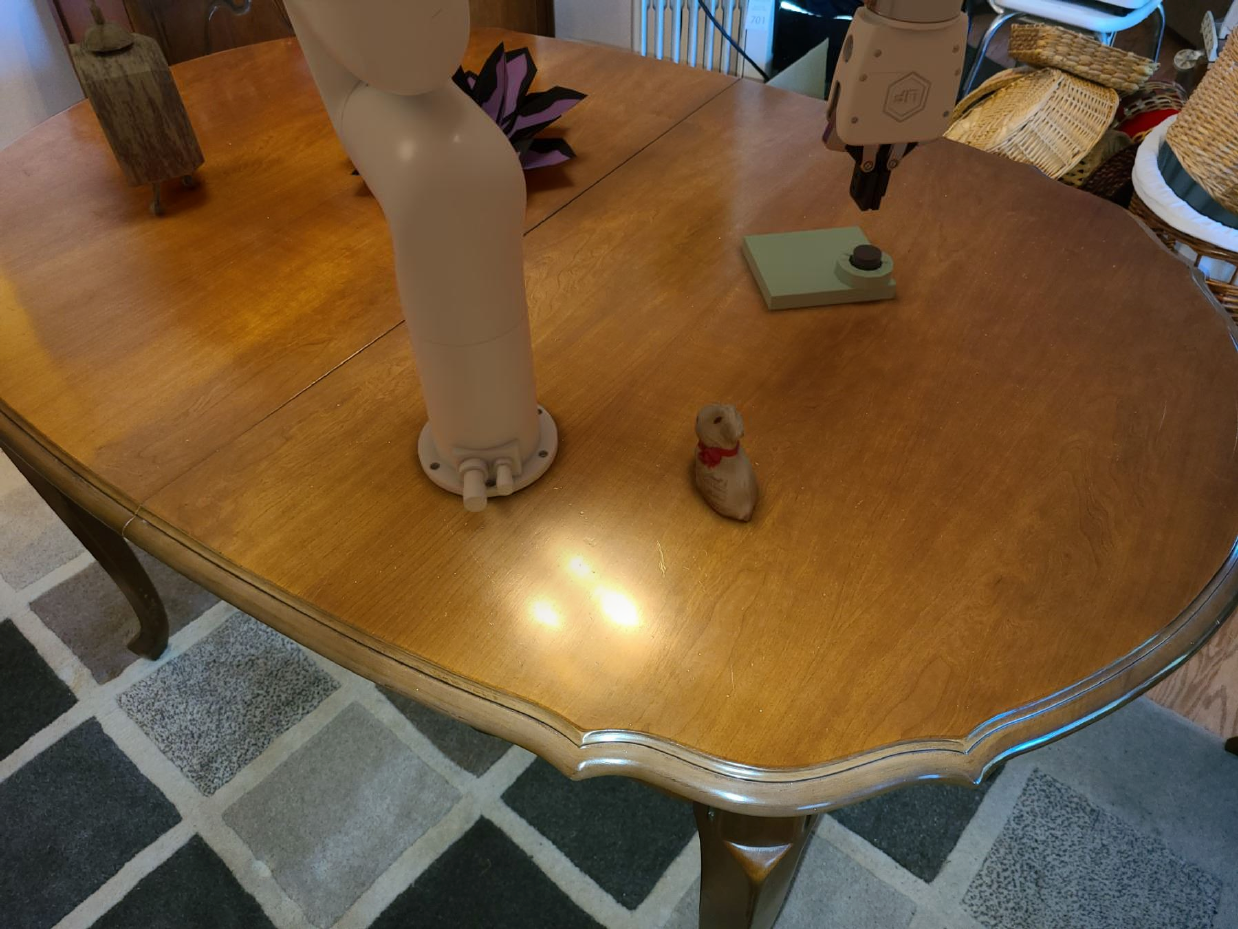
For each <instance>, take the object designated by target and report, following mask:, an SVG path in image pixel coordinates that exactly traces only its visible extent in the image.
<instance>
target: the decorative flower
mask: <svg viewBox="0 0 1238 929" xmlns="http://www.w3.org/2000/svg"><path fill="white" fill-rule="evenodd" d="M537 72H538V67H537V65H536V64H535V61H534V59H533V57H532V54H531V52H530V50H529V47H528V46H523V47H521V48H516V49H511V50H509V51H506V50H505V44H504V40H503V41H501V42H500V43H499V44H498V45H497V46H496V47H495V48H494V49H493V50H492V52H491V53H490V55H489V56H488V57H487V58H486V60H485V62H484V64H483V66H482V68H481V70H480V72H479V73H478V74H477V73H475V72H473V71H472V70H470V69H468V70H467V71H466V72H465V70H464V68H463V66H462V64H461V65H460V67H459V68H458V70H457V71H456V73H455V74H454V75H453V76H452V77H451V78H452V81H453V82H454V83H455V84H456V85H457V86H458V87H459V88H460V89H461V90H462V91H463V92H464V93H465V94H467V95H468V96H469V97H470V98H471V99H472V100H473V101H474V102H475V103H476V104H477V105H478V106H479V107H480V108H481V109H482V110H483V111H484V112H485V113H486V114H487V115H488V116H489V117H490V118H491V119H492V120H493V121H494V122H495V123H496V124H497V125H498V126H499V128H500V129H501V130H502V132H503V133H504V134H505V136H506V137H507V138H508V140H509V142H510V143H511V145H512V147H513V148H514V150H515V152H516V154H517V156H518V158H519V161H520V164H521V166H522V170H523V172H526V171H535V170H539V169H542V168H546V167H551V166H554V165H557V164H560V163H563V162H565V161H568V160H571V159H573V158H577V155H576V153H575V151H574V150H573V149H572V148H573V147H571V146H570V144H569V143H568V142H567V141H566V140H565V139H564V138H563V137H534V136H536V135H537V134H539V133H540V132H542V131H543V130H545V129H546V128H548V127H549V126H551V125H552V124H553V123H554V122H556V121H558V120H559V119H560V118H562V116H563V114H564V113H566V112H568V111H570V110H571V109H573V107H575V106H576V105H578V104H579V103H581V102H582V101H583V100H584V99H586V98H587V97H589V94H586V93H583V92H580V91H578V90H575V89H572V88H568V87H565V86H564V87H563V86H559V85H555V86H553V87H551V88H549V89H547V90H545V91H535V92H529V90H530V88H531V86H532V83H533V82H534V79H535V77H536V76H537ZM349 175H350V176H358V177H362V176H361V175H360V173H359V172H358V170H357V169H356V168H355V169H353V171H352V172H351V173H350V174H349Z"/></svg>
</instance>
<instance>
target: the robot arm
mask: <svg viewBox="0 0 1238 929" xmlns="http://www.w3.org/2000/svg"><path fill="white" fill-rule="evenodd" d="M860 1H861V2H863V4H864V5H863V6H859V7H857V8H856V10H855V13H854V14H853V18H852V20H851V22H850V24H849V27H848V28H847V32H846V35H845V38H844V40H843V42H842V46H841V50H840V52H839V56H838V59H837V62H836V65H835V70H834V73H833V78H832V82H831V86H830V90H829V95H828V99H827V105H826V111H825V118H826V119H825V120H826V121H827V125H826V127H825V130H824V132H823V134H822V136H821V143H822V144H823V146H825V148H826V149H827V150H829V151H834V152H839V153H848V154H849V156H850V157H851V158H852V159H853V160H854V167H853V171H852V176H851V180H850V185H849V190H848V192H849V196H850V197H851V199H852V201H854V203H855V205H856V206H857V207H858V209H859V210H860V211H861V212H868V211H869V210H871V211H879V210H880V207H881V206H880V205H881V203H882V200H883V198H884V197H885V196H886V194H887V190H888V185H889V182H890V179H891V175H892V171H895V170H896V169H897V168H898V167H899V166H900V163H901V161H902V159H904V158H905V157H906V156H908V154H910V153H911V152H912V151H914V149H915V148H916V147H917V148H920V147H922V146H926V145H929V144H932V143H934V142H936V141H937V140H938V139H939V137H941V136H944V134H945V133H946V132H947V130H948V129H949V125H950V123H951V122H952V117H953V114H954V110H955V106H956V102H957V99H958V94H959V89H960V85H961V81H962V80H961V79H962V75H963V70H964V65H965V58H966V50H967V41H968V31H969V16H968V14H967V13H965V12H963V11H962V7H963V5H964V4H963V3H964V0H860ZM282 3H283V5H284V8H285V11H286V13H287V17H288V18H289V21H290V24H291V26H292V29H293V32H294V34H295V37H296V38H297V41H298V44H299V46H300V49H301V52H302V54H303V56H304V59H305V61H306V63H307V66H308V69H309V71H310V74H311V77H312V79H313V82H314V84H315V86H316V89H317V92H318V94H319V96H320V99H321V101H322V104H323V106H324V108H325V111H326V113H327V116H328V118H329V120H330V123H331V125H332V128H333V130H334V132H335V134H336V137H337V139H338V141H339V143H340V145H341V147H342V149H343V150H344V152H345V154H346V156H347V157H348V159H349V160H350V161H351V163H352V165H353V166H354V168H355V169H357V170H358V172H359V173H360V175H361V176H360V177H361V178H362V179H363V181H364V182H365V184H366V186H367V187H368V189H369V190H370V192H371V193H372V195H373V196H374V198H375V199H376V201H377V203H378V204H379V206H380V208H381V210H382V212H383V216H384V218H385V220H386V223H387V226H388V230H389V234H390V237H391V243H392V249H393V250H392V251H393V263H394V266H393V267H394V274H395V280H396V287H397V292H398V297H399V302H400V306H401V310H402V314H403V319H404V322H405V325H406V328H407V332H408V337H409V341H410V342H409V343H410V345H411V350H412V354H413V359H414V363H415V367H416V371H417V376H418V380H419V385H420V389H421V392H422V397H423V401H424V405H425V410H426V414H427V419H428V420H427V421H426V422H425V423H424V426H423V427H422V430H420V434H419V437H418V441H417V453H418V458H419V463H420V465H421V467H422V470H423V472H424V473H425V474H426V476H427V477H428V479H430V481H432V482H433V483H434V484H436V485H437V486H438V487H440V488H441V489H443V490H445V491H447V492H449V493H453V494H456V495H459V496H462V498H463V499H462V501H463V502H462V503H463V508H464V509H465V510H466V511H467V512H471V513H478V512H482V511H484V510H485V509H486V508H487V506H488V498H493V497H499V496H506V497H507V496H509V495H511V494H512V493H514V492H517V491H520V490H522V489H524V488H526V487H528V486H529V485H531V484H532V483H534V482H536V481H537V480H539V478H541V477H542V476H543V475H544V474H545V473H546V472H547V471H548V469H549V468H550V467H551V465H552V464H553V463H554V461H555V457H556V455H557V452H558V448H559V446H558V445H559V436H558V429H557V426H556V422H555V420H554V419H553V417H552V416H551V414H550V412H548V411H547V410H546V409H545V408H544V407H543V406H542V405H541V404H538V396H537V387H536V386H537V385H536V376H535V366H534V357H533V356H534V355H533V346H532V337H531V336H532V335H531V326H530V317H529V305H528V300H527V290H526V280H525V279H526V278H525V266H524V264H525V263H524V233H525V223H526V212H527V196H528V195H527V184H526V177H525V173H524V171H523V170H522V166H521V164H520V161H519V158H518V156H517V154H516V152H515V150H514V148H513V147H512V145H511V143H510V142H509V140H508V138H507V137H506V136H505V134H504V133H503V132H502V130H501V129H500V128H499V126H498V125H497V124H496V123H495V122H494V121H493V120H492V119H491V118H490V117H489V116H488V115H487V114H486V113H485V112H484V111H483V110H482V109H481V108H480V107H479V106H478V105H477V104H476V103H475V102H474V101H473V100H472V99H471V98H470V97H469V96H468V95H467V94H465V93H464V92H463V91H462V90H461V89H460V88H459V87H458V86H457V85H456V84H455V83H454V82H453V81H452V78H451V77H452V76H453V75H454V74H455V73H456V71H457V70H458V68H459V67H460V65H461V66H462V63H463V61H464V58H465V56H466V53H467V49H468V47H469V46H468V45H469V41H470V34H471V13H470V5H469V4H470V2H469V0H282Z"/></svg>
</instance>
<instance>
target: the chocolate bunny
mask: <svg viewBox="0 0 1238 929" xmlns="http://www.w3.org/2000/svg"><path fill="white" fill-rule="evenodd" d="M744 427H745V425H744V422H743V417H742V414H740V412H739V411H737V408H736V406H735V405H734V404H733V403H725V404H721V403H718V402H711V403H709V404H707V405H704V407H702V408H700V410H698V411H697V415H696V418H695V423H694V432H695V435H696V437H697V439H698V441H697V443H696V445H695V447H694V461H695V463H696V464H695V467H694V474H695V484H696V487H697V489H698V491H699V493H700V494H701V495H702V498H703V499H704V500H706V502H707V504H709V506H710V507H711V508H712V509H713V510H715V511H716V512H717V513H718V514H720V515H722V516H724V517H730V518H732V519H735V520H739V521H743V522H748V521H750V519H751V517H752V515H753V511H754V507H755V506H756V502H757V494H758V489H757V483H756V478H755V473H754V469H753V466H752V463H751V460H750V459H749V457H748V455H747V453H746V452H745V450H744V448H743V447H742V445H741V442H740V440H741V439H743V437H745V428H744Z"/></svg>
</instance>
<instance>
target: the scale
mask: <svg viewBox="0 0 1238 929" xmlns="http://www.w3.org/2000/svg"><path fill="white" fill-rule="evenodd" d="M864 244H867V245H872V244H871V243H870V241H869V239H868V238H867V237H866V235H865V234H864V231H863V230H862V229H861V227H860V225H855V226H844V227H833V228H832V227H831V228H821V229H809V230H808V229H807V230H798V231H786V232H776V233H765V234H763V233H762V234H754V235H753V234H752V235H743V237H742V246H741V252H742V253H743V256H744V257H745V261H746V262H747V265H749V269H750V270H751V273H752V275H753V278H754V279H755V281H756V282H755V283H756V284H757V286H758V288H759V290H760V292H761V295H762V297H763V299H764V301H765V303H766V305H767V307H768V310H769V311H776V310H786V309H797V308H806V307H817V306H818V307H819V306H828V305H837V304H838V305H839V304H848V303H858V302H860V303H861V302H870V301H878V300H889V299H894V296H895V292H896V288H897V285H898V284H897V282H896V281H895V279H894V278H893V276H892V272H893V270H894V266H895V262H894V261H893V259H892V257H891V255H889V254H888V253H886V252H884V251H883V250H881V252H882V257H881V261H880V264H879V267H878V269H877V270H873V271H864V270H860V269H857V268H855V267H854V266H852V264H851V260H852V255H853V251H854V248H855V247H857V246H859V245H864Z"/></svg>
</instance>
